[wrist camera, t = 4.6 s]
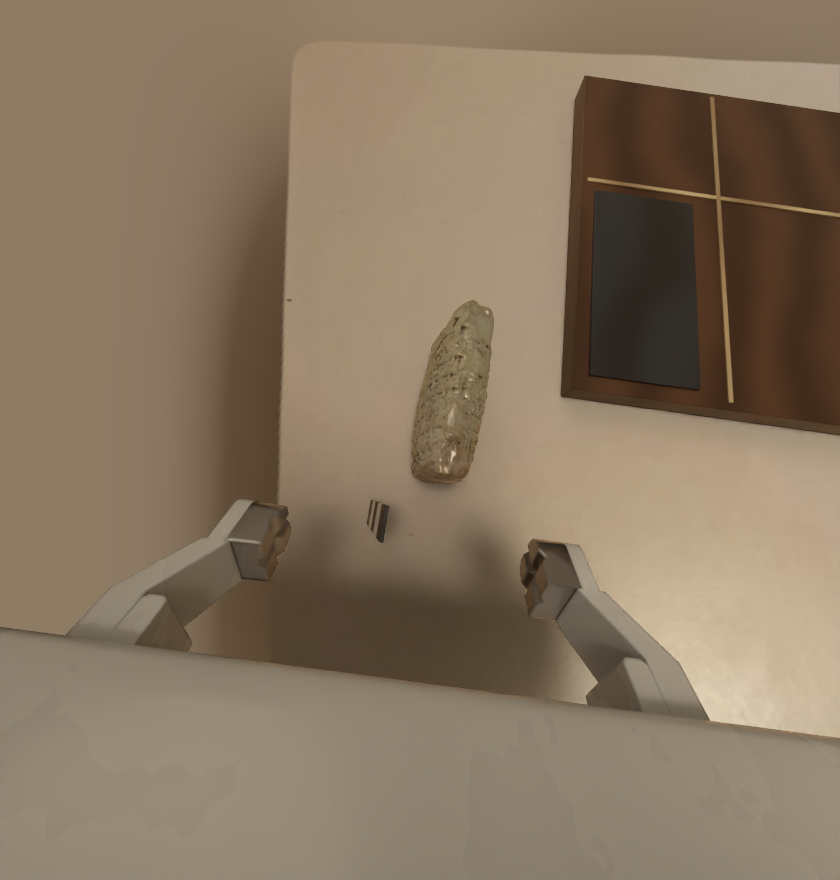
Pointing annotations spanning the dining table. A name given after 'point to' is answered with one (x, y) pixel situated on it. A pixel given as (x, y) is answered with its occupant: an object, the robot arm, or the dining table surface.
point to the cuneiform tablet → (449, 403)
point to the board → (704, 256)
